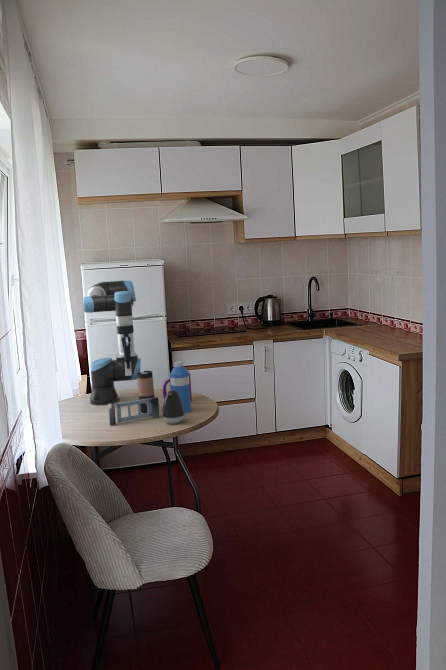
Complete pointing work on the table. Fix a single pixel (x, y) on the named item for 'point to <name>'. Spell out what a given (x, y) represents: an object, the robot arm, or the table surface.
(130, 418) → the gate
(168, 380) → the mug
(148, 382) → the travel mug
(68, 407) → the table surface
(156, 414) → the latch post
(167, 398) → the pump dispenser
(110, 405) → the hinge post
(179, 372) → the water bottle
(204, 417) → the table surface
